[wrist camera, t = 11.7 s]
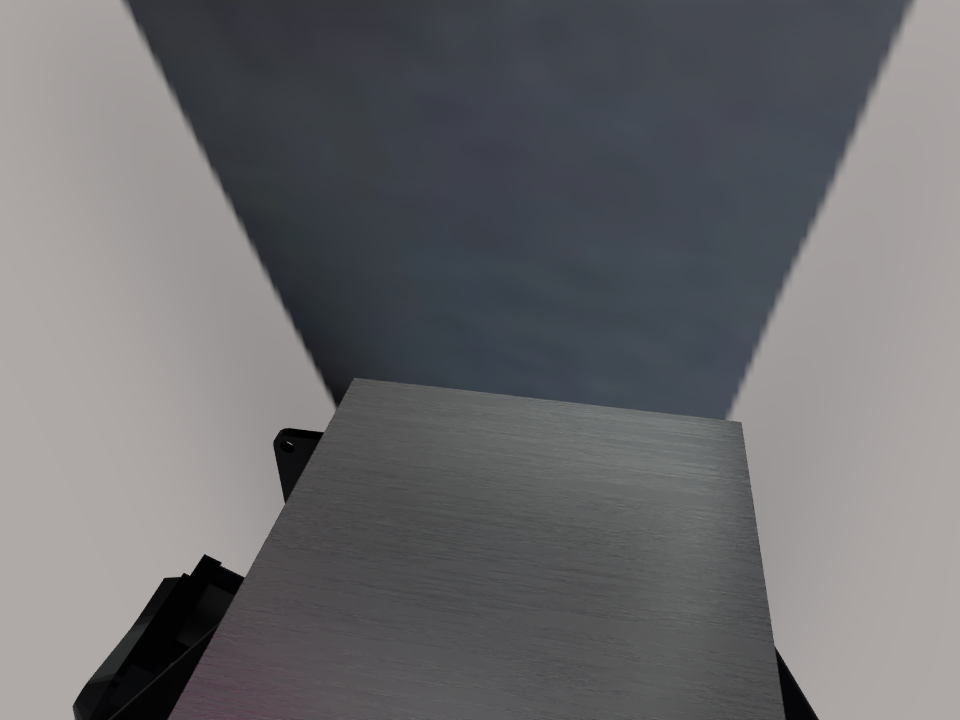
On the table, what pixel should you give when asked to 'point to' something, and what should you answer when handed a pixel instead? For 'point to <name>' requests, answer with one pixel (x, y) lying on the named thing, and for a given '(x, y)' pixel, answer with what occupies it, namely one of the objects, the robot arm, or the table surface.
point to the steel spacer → (502, 571)
